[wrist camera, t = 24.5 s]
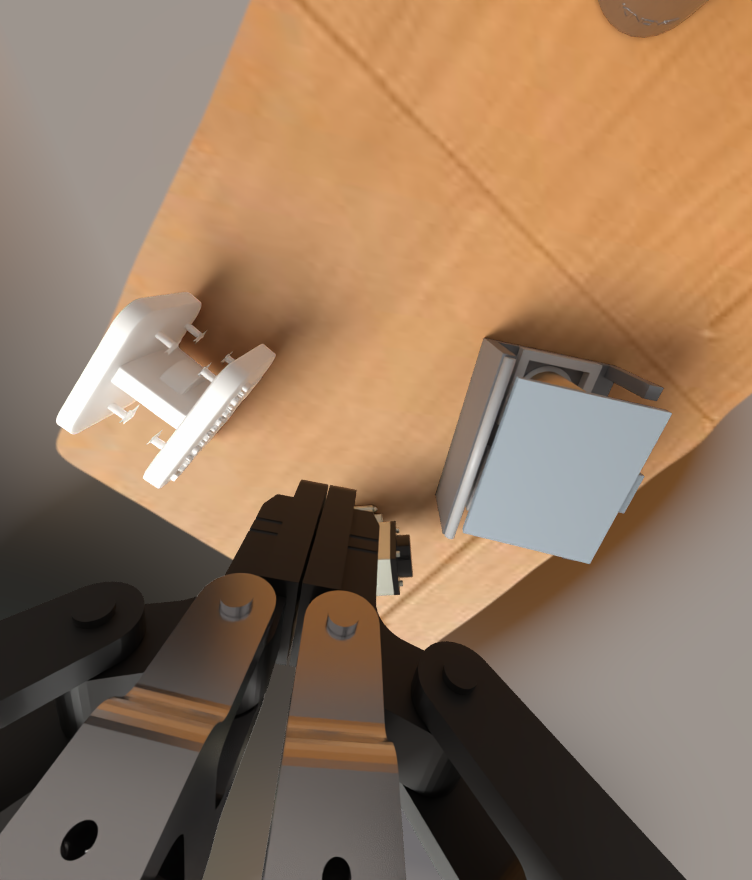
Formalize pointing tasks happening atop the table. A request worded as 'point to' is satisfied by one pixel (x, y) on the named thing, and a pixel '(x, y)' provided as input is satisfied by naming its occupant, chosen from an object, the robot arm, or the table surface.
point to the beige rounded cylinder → (555, 380)
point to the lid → (562, 468)
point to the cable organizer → (161, 381)
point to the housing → (488, 406)
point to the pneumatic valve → (391, 556)
